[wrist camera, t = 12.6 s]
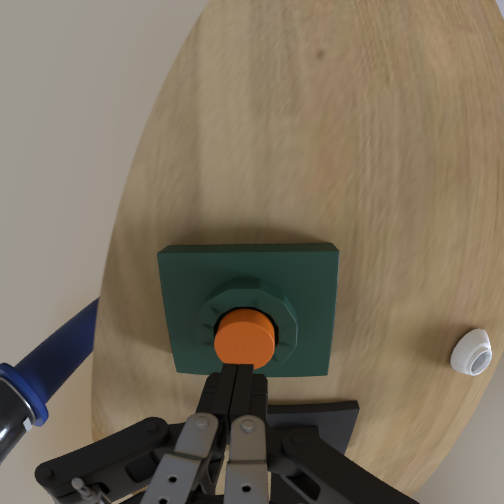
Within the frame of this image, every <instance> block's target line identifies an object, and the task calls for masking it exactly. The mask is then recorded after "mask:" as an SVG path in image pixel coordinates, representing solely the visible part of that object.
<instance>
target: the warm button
mask: <svg viewBox="0 0 504 504" xmlns="http://www.w3.org/2000/svg"><path fill="white" fill-rule="evenodd" d="M214 348H215V351H216V354H217V355H218V357H219V358H220V359H221V361H222V362H224V363H234V364H238V365H239V364H254V369H257V368H260V367H262V366H264V365H265V364H266V363H267V362H268V361H269V360H270V359H271V357H272V355H273V353H274V327H273V325H272V323H271V321H270V320H269V319H268V318H267V317H266V316H265V315H264V314H262V313H261V312H259V311H256V310H253V309H237V310H234V311H232V312H230V313H228V314H227V315H226V316H225V317H224V318H223V319H222V321H221V323H220V325H219V328H218V331H217V334H216V336H215V340H214Z"/></svg>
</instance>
